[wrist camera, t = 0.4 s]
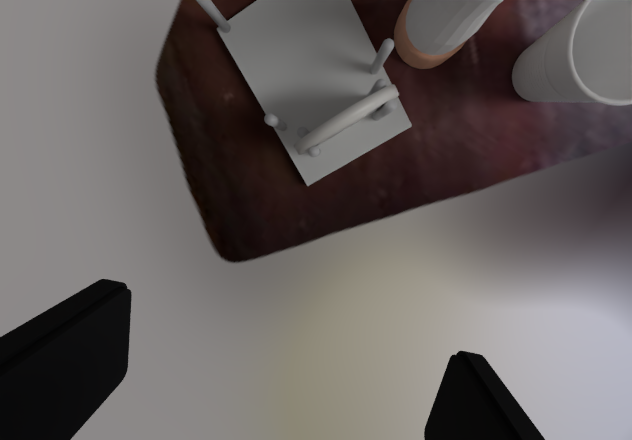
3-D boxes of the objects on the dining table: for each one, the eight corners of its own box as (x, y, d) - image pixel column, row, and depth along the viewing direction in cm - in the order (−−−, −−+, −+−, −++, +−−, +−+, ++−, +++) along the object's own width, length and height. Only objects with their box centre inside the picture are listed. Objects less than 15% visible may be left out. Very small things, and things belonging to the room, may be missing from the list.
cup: (481, 50, 34) (553, 3, 23) (571, 7, 32) (691, -65, 22) (507, 133, 35) (585, 126, 25) (593, 96, 34) (714, 70, 23)
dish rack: (326, -42, 32) (326, -156, 20) (409, 126, 36) (450, 114, 24) (220, 32, 34) (161, -32, 22) (308, 185, 38) (299, 200, 26)
